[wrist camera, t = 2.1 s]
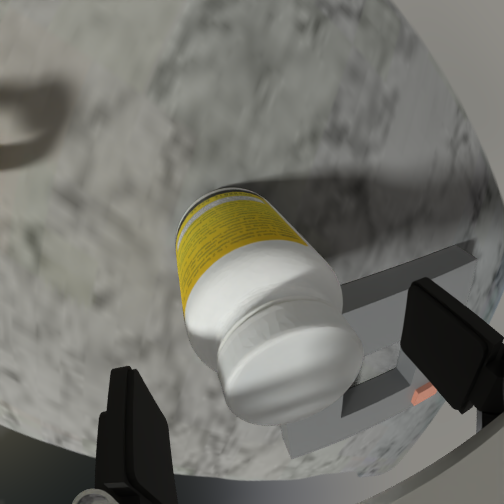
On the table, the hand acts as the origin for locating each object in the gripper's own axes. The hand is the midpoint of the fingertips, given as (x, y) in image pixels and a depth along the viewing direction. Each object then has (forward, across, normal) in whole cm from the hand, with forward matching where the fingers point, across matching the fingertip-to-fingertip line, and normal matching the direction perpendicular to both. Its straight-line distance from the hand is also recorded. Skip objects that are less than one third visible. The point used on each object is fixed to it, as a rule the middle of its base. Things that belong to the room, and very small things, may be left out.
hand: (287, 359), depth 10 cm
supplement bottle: (+8, 0, -1) cm, 8 cm away
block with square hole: (+8, -9, +12) cm, 17 cm away
